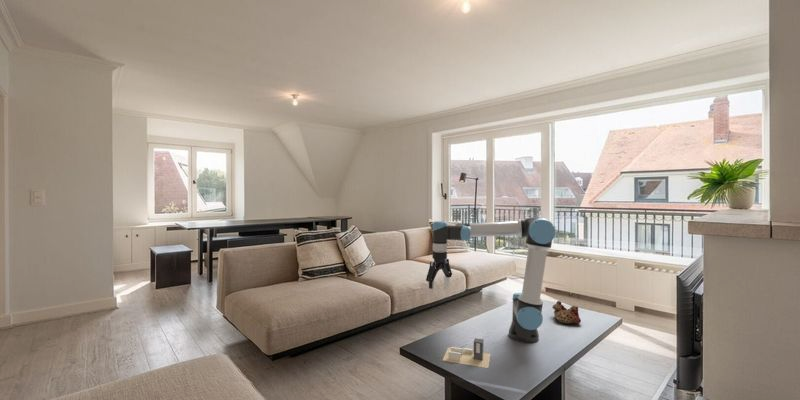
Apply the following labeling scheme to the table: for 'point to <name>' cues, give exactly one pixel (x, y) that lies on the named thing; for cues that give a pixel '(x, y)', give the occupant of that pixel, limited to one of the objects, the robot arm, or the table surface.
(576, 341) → the table surface
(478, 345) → the plug
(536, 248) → the robot arm
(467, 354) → the board
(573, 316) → the coral
